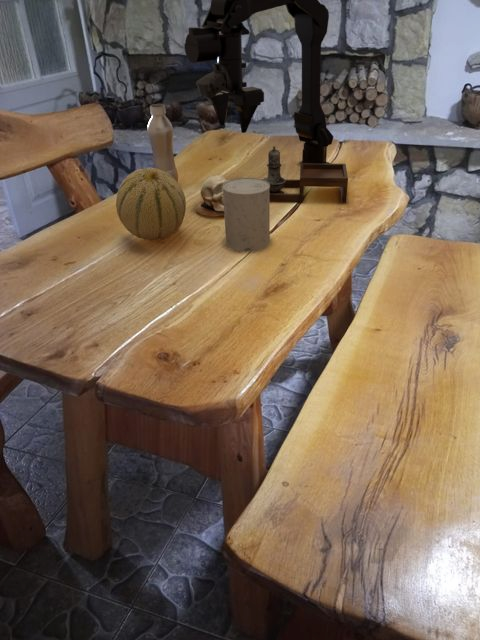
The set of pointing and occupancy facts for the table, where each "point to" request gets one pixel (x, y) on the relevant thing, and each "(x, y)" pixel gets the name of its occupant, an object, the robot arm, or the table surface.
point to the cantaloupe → (150, 204)
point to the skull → (212, 197)
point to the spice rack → (314, 181)
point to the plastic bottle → (162, 140)
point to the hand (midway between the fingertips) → (232, 128)
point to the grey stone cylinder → (247, 214)
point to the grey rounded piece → (274, 172)
